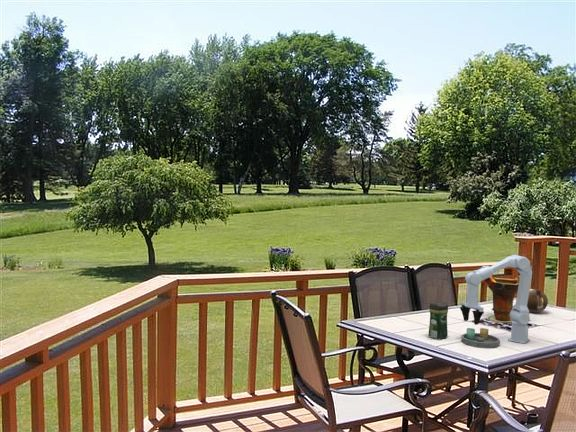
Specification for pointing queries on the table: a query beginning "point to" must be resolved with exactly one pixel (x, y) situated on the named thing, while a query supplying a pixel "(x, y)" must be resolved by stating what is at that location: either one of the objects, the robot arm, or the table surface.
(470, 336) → the teal cylinder
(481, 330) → the tan wooden cylinder
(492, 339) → the ring tray
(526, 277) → the robot arm
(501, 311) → the decorative vase
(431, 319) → the coffee jar
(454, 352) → the table surface
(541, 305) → the wooden sphere
